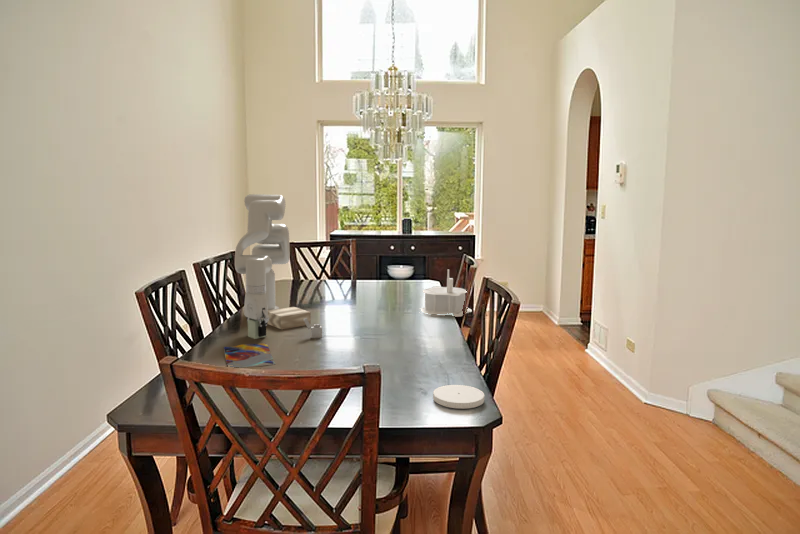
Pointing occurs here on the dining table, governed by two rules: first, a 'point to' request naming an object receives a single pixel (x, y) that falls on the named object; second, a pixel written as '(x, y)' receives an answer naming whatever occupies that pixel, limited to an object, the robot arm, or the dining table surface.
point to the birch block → (288, 317)
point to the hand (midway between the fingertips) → (257, 333)
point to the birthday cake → (445, 299)
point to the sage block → (253, 328)
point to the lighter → (314, 329)
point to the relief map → (248, 355)
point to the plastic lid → (458, 396)
